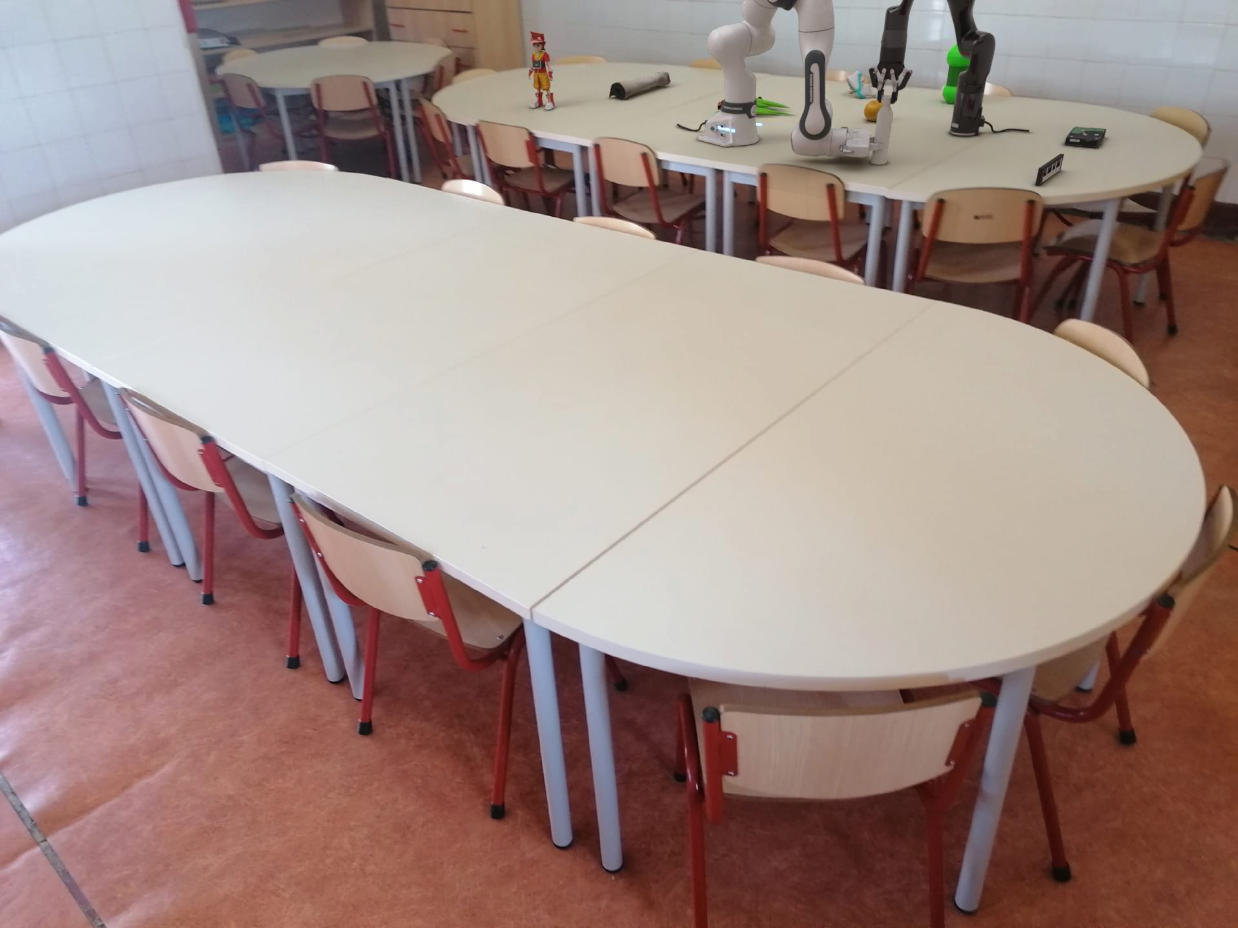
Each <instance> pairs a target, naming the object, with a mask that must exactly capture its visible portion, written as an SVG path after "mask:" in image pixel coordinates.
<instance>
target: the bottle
mask: <svg viewBox="0 0 1238 928" xmlns="http://www.w3.org/2000/svg"><path fill="white" fill-rule="evenodd" d="M891 105H892V104H891V103H883V104H882V107H881V108H880V110H879V111H878V114H877V121H875V122H876V123H875V130H874V136H875V137H874V143H873V144H877V143H884V149H883V150H874V151H872V154H871V164H873V165H878V166H882V165H886V164H887V161H888V154H889V147H890V139H891V131H892V127H893V126H892V125H893V118H894V111H893V109H892V107H891Z"/></svg>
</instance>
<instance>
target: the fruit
mask: <svg viewBox="0 0 1238 928" xmlns="http://www.w3.org/2000/svg"><path fill="white" fill-rule="evenodd" d="M882 104H883V103H878V101H877V99H874V100H870V101H869V102H867V103H866V105H865V106H864V110H863V115H864V117H865V119H867V120H868V121H871V122H877V114H878V111H879V110H880V108H881V107H882Z"/></svg>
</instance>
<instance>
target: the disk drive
mask: <svg viewBox="0 0 1238 928" xmlns="http://www.w3.org/2000/svg"><path fill="white" fill-rule="evenodd" d="M1106 133H1107V128H1100V127H1083V126H1074V127H1073V128H1072V129H1071V131H1070V132H1069V133H1068V134H1067V135H1066V137H1065V140H1064V145H1069V146H1076V147H1086V148H1098V147H1099V146H1100V145H1101V143H1102V140H1103V139H1105V136H1106Z"/></svg>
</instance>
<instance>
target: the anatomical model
mask: <svg viewBox="0 0 1238 928" xmlns="http://www.w3.org/2000/svg"><path fill="white" fill-rule="evenodd" d="M862 77H863V74H862V72H860V71H859V70H858V69H856V70H854V72H853V74H851V75H848V76H846V82H847V85H848V86H849V90H850V91H853V92H856V94H857V96H858V97H859V98H860V99H866V97H877V94H878V92H873V91H872V89H873V87H872V83H871V82H870V83H869V84H867V85H864V82H865V81H866V77H864V78H862Z"/></svg>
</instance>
